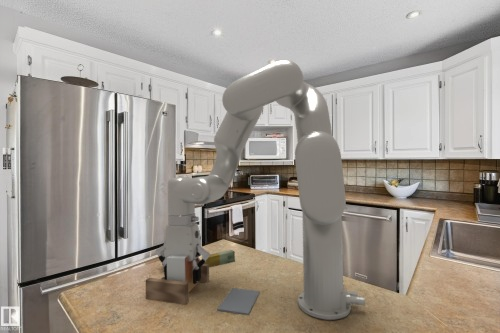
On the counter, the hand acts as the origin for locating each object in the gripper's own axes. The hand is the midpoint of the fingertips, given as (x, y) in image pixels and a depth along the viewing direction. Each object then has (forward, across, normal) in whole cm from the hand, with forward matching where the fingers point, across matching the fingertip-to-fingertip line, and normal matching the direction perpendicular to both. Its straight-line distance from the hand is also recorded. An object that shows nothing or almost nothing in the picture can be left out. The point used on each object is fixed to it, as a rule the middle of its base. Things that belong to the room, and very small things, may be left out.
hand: (182, 279), depth 72 cm
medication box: (+3, -3, -20) cm, 21 cm away
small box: (+3, 0, 0) cm, 3 cm away
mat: (+3, -18, +2) cm, 18 cm away
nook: (+3, +1, 0) cm, 3 cm away
